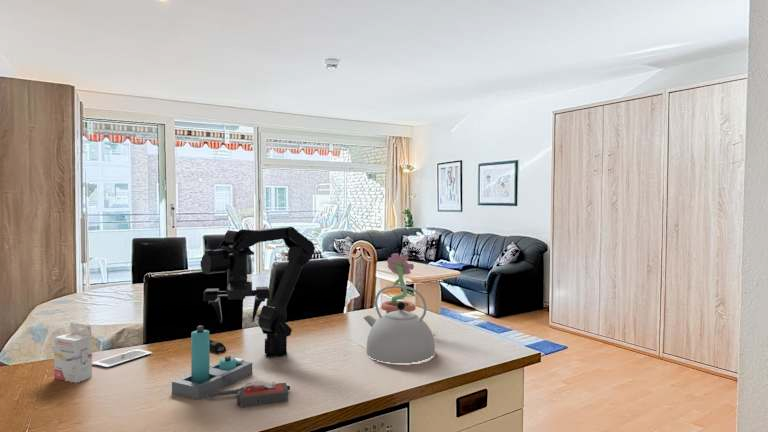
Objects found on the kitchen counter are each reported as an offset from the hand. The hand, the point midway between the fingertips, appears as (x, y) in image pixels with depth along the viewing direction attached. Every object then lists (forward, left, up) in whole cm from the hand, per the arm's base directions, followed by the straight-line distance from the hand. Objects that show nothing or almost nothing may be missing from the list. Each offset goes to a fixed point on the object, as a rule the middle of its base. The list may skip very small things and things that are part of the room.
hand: (237, 322), depth 137 cm
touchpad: (+34, -14, -14) cm, 39 cm away
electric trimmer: (+9, -19, -14) cm, 25 cm away
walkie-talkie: (-4, +26, -14) cm, 30 cm away
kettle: (-51, +1, -13) cm, 52 cm away
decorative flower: (-61, -29, -13) cm, 69 cm away
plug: (+8, +16, -13) cm, 23 cm away
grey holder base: (+5, +13, -13) cm, 19 cm away
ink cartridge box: (+43, 0, -13) cm, 45 cm away
